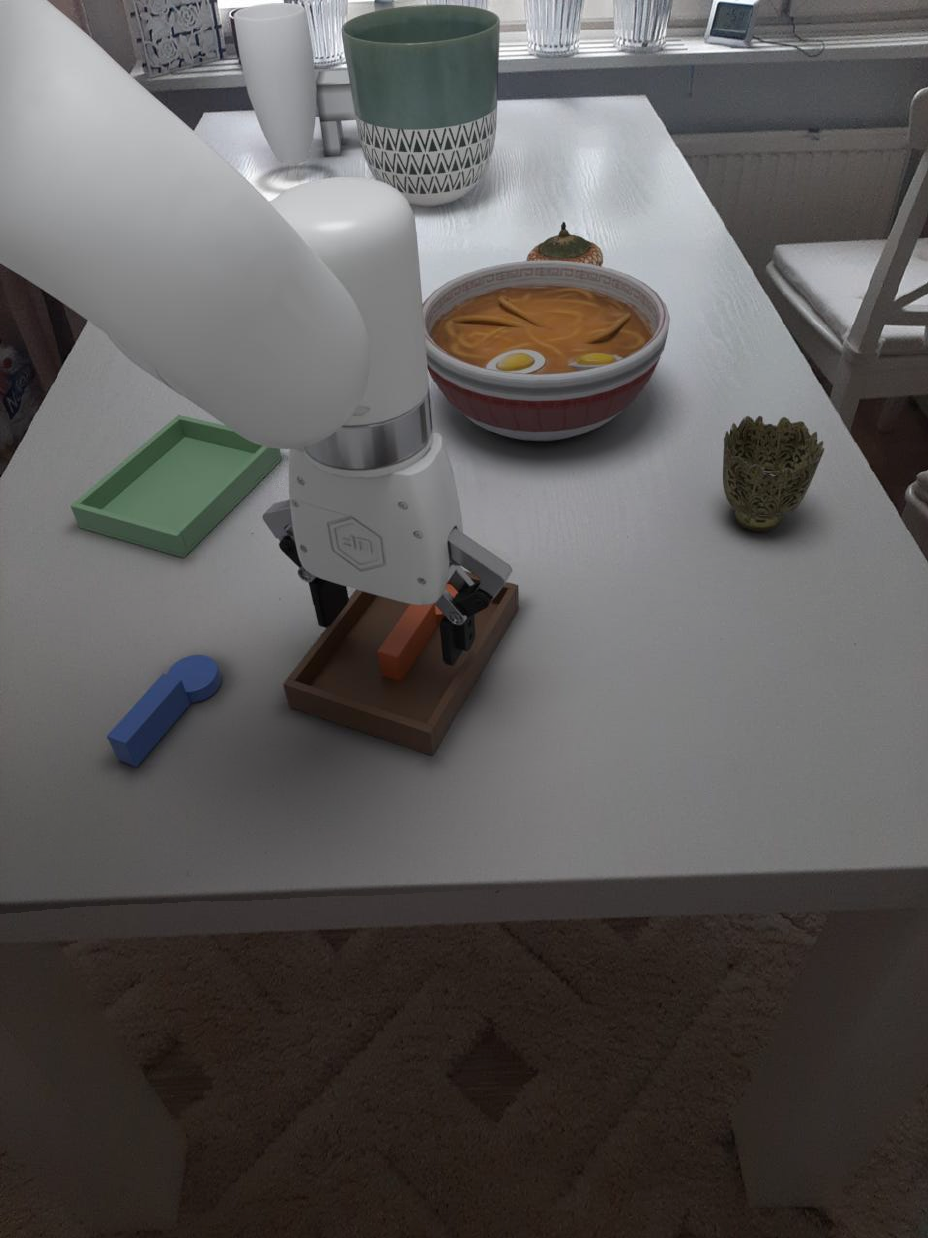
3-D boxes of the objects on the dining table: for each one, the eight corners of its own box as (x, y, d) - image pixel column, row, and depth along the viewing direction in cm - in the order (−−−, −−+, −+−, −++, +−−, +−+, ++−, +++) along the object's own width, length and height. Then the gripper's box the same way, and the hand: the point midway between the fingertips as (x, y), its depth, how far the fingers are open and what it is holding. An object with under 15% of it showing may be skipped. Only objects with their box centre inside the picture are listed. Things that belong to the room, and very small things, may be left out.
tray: (432, 755, 62) (430, 733, 60) (288, 706, 65) (282, 684, 64) (518, 608, 71) (518, 584, 70) (389, 572, 75) (386, 549, 73)
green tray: (183, 558, 77) (176, 535, 76) (79, 527, 81) (69, 505, 79) (282, 459, 87) (277, 437, 86) (184, 435, 91) (178, 414, 89)
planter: (336, 217, 128) (312, 38, 113) (399, 168, 141) (384, 1, 126) (469, 234, 122) (462, 47, 107) (522, 181, 135) (522, 7, 120)
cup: (332, 164, 144) (310, -1, 129) (330, 189, 136) (306, 17, 121) (265, 169, 144) (234, 4, 128) (258, 194, 136) (225, 22, 121)
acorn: (611, 304, 107) (617, 214, 100) (578, 335, 102) (582, 243, 95) (548, 289, 110) (549, 202, 103) (512, 318, 105) (511, 229, 98)
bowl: (602, 504, 80) (610, 402, 73) (378, 440, 89) (366, 343, 82) (692, 379, 94) (705, 283, 87) (491, 334, 103) (489, 243, 96)
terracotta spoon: (413, 686, 66) (410, 661, 64) (368, 672, 67) (364, 647, 65) (468, 600, 72) (467, 574, 70) (426, 588, 73) (424, 563, 71)
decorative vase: (804, 500, 79) (825, 419, 74) (802, 556, 74) (824, 473, 69) (714, 489, 81) (728, 409, 75) (706, 543, 76) (720, 460, 70)
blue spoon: (149, 772, 62) (137, 748, 60) (106, 755, 63) (93, 731, 61) (231, 673, 68) (223, 649, 66) (190, 660, 69) (181, 635, 67)
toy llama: (312, 141, 152) (291, -4, 138) (420, 135, 152) (410, -11, 138) (308, 157, 147) (286, 7, 133) (420, 150, 146) (409, 0, 132)
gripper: (200, 423, 53) (259, 635, 65) (478, 488, 48) (487, 707, 60) (272, 361, 58) (315, 568, 70) (532, 413, 52) (530, 629, 64)
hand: (394, 632), depth 65 cm, fingers open, 9 cm apart
